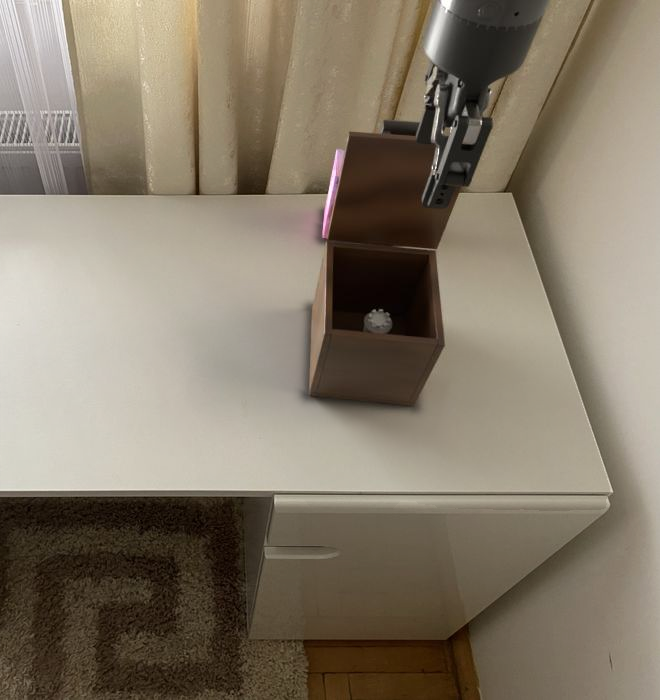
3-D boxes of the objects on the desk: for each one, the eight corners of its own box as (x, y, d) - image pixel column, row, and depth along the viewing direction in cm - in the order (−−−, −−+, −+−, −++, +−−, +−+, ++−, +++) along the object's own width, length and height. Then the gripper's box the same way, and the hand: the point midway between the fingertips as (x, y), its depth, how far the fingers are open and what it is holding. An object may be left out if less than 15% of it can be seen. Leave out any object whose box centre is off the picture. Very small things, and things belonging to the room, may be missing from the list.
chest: (414, 406, 83) (445, 345, 72) (308, 395, 84) (324, 334, 73) (408, 316, 90) (435, 249, 80) (312, 307, 91) (326, 240, 81)
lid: (478, 145, 68) (471, 112, 71) (348, 135, 68) (348, 104, 72) (437, 249, 79) (433, 217, 82) (327, 240, 80) (327, 209, 83)
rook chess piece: (343, 362, 85) (354, 324, 79) (355, 336, 88) (367, 297, 81) (377, 376, 84) (392, 338, 77) (389, 349, 86) (404, 310, 80)
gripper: (566, 54, 44) (481, 233, 58) (532, -54, 52) (465, 125, 66) (447, 47, 45) (390, 225, 58) (431, -59, 53) (385, 119, 66)
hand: (430, 172), depth 62 cm, fingers open, 8 cm apart
